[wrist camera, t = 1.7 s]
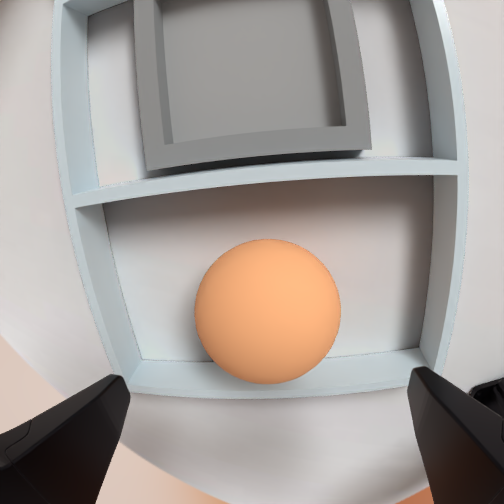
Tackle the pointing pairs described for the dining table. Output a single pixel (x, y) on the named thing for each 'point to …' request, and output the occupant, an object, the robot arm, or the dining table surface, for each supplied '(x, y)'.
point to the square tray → (248, 79)
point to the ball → (267, 311)
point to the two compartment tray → (92, 196)
